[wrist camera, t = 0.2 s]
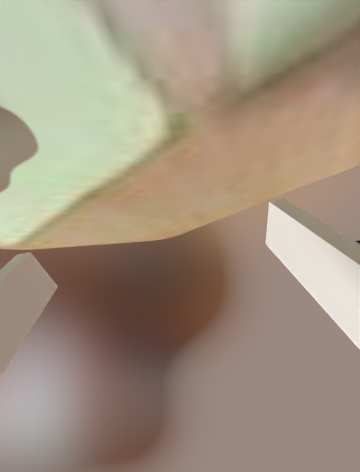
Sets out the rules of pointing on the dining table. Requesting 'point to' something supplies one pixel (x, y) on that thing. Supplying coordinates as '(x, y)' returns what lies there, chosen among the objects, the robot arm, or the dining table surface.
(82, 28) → the dining table surface
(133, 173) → the dining table surface
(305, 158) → the dining table surface
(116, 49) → the dining table surface
